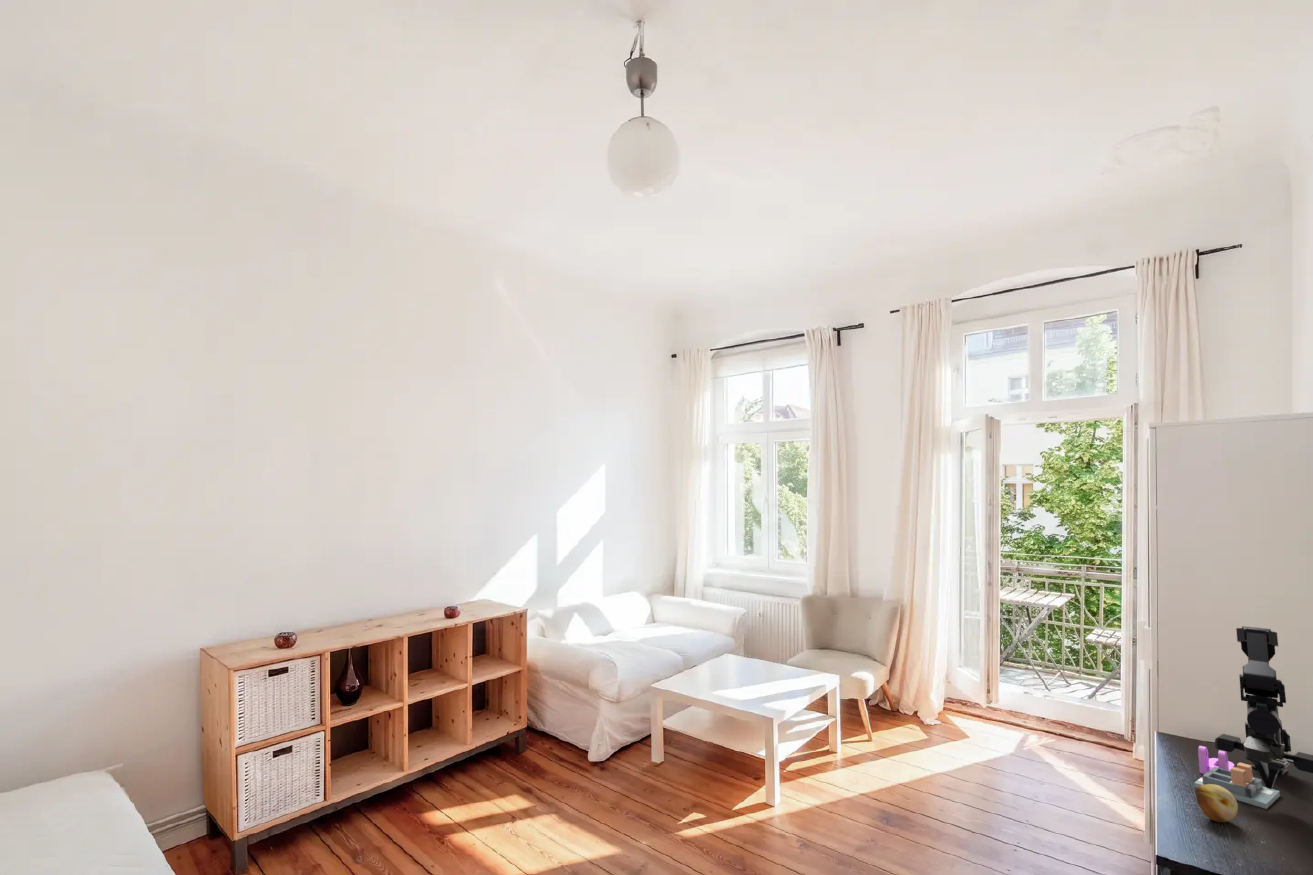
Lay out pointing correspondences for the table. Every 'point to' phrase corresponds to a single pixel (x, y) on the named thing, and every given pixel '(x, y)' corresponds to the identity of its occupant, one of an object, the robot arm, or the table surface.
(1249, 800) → the switch plate
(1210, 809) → the fruit
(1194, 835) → the table surface
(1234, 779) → the tab
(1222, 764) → the bracket
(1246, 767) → the tab
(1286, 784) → the table surface
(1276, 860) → the table surface
